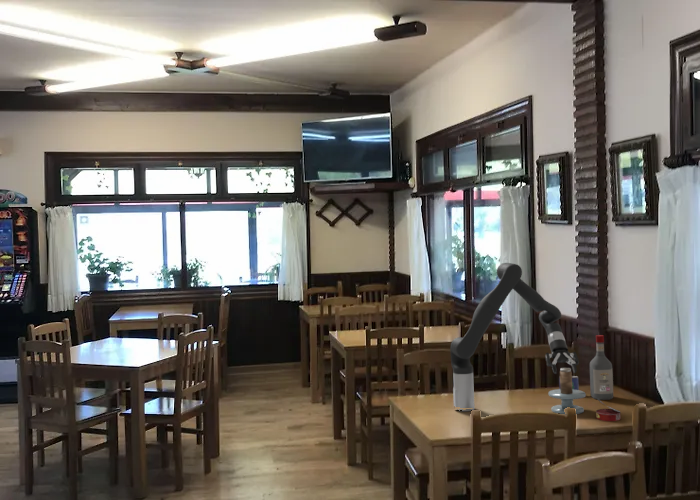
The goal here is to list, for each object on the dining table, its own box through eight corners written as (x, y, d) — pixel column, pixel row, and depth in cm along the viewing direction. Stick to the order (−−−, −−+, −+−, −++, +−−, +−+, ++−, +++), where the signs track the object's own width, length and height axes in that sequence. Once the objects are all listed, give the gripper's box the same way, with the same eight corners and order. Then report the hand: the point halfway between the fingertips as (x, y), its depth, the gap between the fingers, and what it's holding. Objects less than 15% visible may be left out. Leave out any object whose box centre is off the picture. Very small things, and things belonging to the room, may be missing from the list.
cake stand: (554, 415, 308) (554, 397, 307) (545, 406, 324) (544, 389, 323) (591, 414, 307) (590, 396, 307) (579, 405, 323) (578, 388, 323)
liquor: (614, 399, 332) (612, 336, 331) (595, 400, 332) (593, 337, 331) (608, 395, 341) (606, 333, 340) (589, 395, 341) (587, 334, 340)
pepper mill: (562, 394, 313) (561, 370, 313) (559, 391, 318) (558, 367, 318) (574, 393, 313) (573, 369, 313) (570, 391, 318) (569, 367, 318)
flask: (578, 393, 346) (577, 372, 345) (579, 395, 343) (578, 373, 343) (559, 393, 348) (558, 372, 347) (559, 395, 345) (558, 373, 345)
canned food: (600, 426, 305) (601, 403, 309) (624, 426, 299) (624, 403, 303) (590, 419, 298) (591, 396, 302) (614, 419, 291) (615, 396, 295)
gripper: (543, 339, 324) (551, 368, 313) (574, 338, 324) (583, 367, 313) (540, 348, 330) (548, 377, 318) (571, 347, 330) (579, 376, 318)
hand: (565, 372), depth 316 cm, fingers open, 8 cm apart
